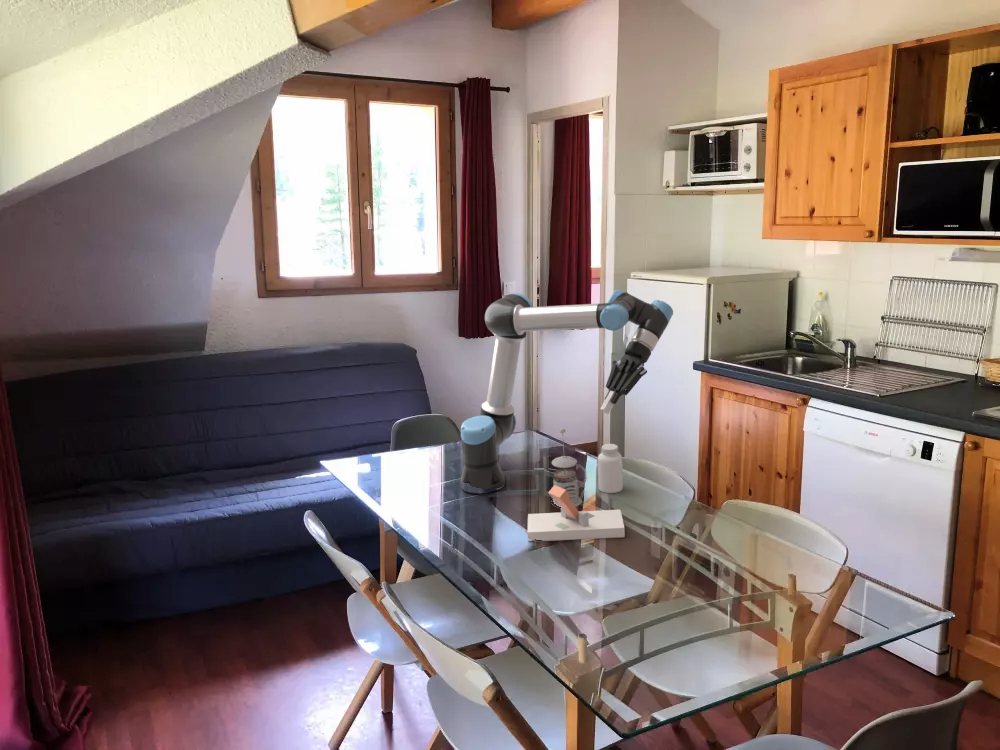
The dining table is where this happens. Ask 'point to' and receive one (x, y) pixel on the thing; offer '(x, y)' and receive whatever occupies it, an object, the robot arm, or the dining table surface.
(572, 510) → the lever
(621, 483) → the pill bottle
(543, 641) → the dining table surface
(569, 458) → the french press
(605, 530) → the white switch base plate
